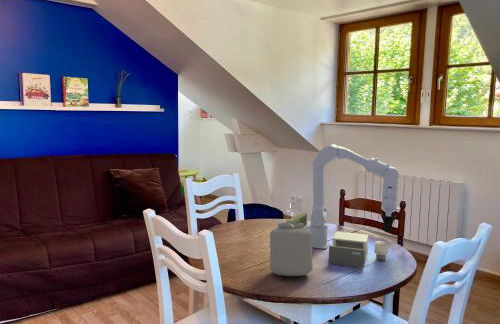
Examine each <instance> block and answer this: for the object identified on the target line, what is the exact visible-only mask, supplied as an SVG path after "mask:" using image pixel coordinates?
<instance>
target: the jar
mask: <svg viewBox="0 0 500 324" xmlns="http://www.w3.org/2000/svg"><path fill="white" fill-rule="evenodd" d="M289 205H290V206H289V208H290V209H291V208H292V206H291V205H292V204H291V203H289ZM290 209H289V210H287V212H290ZM290 216H292V217H293V212H291V215H290ZM269 260H270V261H269V264H270V265H269V267H270V270H271V272H272V273H274V274H275V275H278V276H287V277H299V276H300V277H301V276H305V275H306V276H307V275H308V274H310V273H311V272H312V270H313V247H312V233H311V231H310V230H308V229H307V228H305V227H303V223H286V222H279V223H277V227H274V228H273V229H272V230H271V231H270V233H269Z"/></svg>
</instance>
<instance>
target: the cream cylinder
mask: <svg viewBox="0 0 500 324" xmlns="http://www.w3.org/2000/svg"><path fill="white" fill-rule="evenodd" d="M388 253H389V243H388V242H387V241H385V240H384V241H383V240H376V241H374V254H375V255H376V254H378V255H386V256H387V255H389V254H388Z"/></svg>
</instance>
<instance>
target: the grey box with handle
mask: <svg viewBox="0 0 500 324" xmlns="http://www.w3.org/2000/svg"><path fill="white" fill-rule="evenodd" d="M364 258H365V250H364V249H355V248H346V247H338V246H333V245H328V264H335V265H342V266H348V267H349V266H350V267H358V268H364V267H365V260H364Z"/></svg>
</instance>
